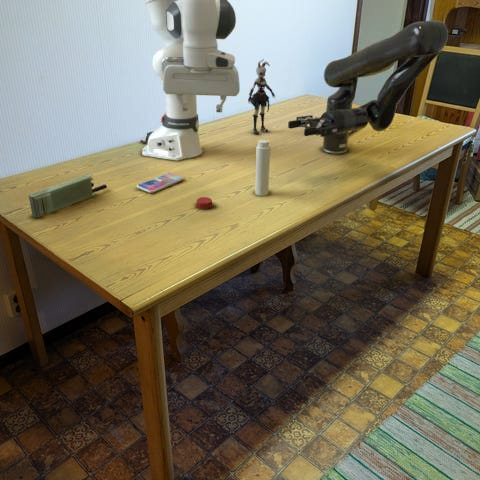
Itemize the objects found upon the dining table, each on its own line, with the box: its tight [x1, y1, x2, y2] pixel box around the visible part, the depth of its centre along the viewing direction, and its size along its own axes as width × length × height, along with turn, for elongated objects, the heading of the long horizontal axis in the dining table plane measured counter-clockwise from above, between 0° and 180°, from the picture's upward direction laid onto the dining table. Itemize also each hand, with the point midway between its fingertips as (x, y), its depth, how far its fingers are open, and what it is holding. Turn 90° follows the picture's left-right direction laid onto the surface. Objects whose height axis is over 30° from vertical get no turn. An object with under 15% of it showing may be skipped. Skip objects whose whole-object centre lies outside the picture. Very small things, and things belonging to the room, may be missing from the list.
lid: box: [196, 196, 213, 210], centre depth 150 cm, size 5×5×2 cm
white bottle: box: [254, 139, 271, 197], centre depth 155 cm, size 4×4×17 cm
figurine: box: [247, 58, 276, 135], centre depth 206 cm, size 15×6×30 cm, turn 132°
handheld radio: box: [28, 173, 108, 219], centre depth 150 cm, size 7×3×25 cm
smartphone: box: [136, 172, 184, 194], centre depth 164 cm, size 7×1×15 cm
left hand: (202, 111), depth 137 cm, fingers open, 8 cm apart
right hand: (296, 128), depth 155 cm, fingers open, 8 cm apart
